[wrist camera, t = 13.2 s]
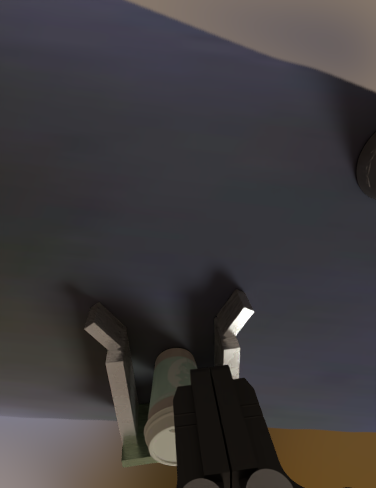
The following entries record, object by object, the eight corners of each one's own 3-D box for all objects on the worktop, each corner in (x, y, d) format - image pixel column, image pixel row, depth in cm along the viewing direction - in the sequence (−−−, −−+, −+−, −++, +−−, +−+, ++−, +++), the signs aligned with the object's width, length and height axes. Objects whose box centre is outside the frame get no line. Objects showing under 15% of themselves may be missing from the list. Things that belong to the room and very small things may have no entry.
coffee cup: (214, 365, 45) (233, 447, 35) (167, 391, 47) (171, 478, 36) (183, 330, 42) (194, 409, 31) (133, 359, 43) (127, 444, 32)
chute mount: (245, 287, 40) (265, 328, 33) (239, 397, 49) (254, 448, 42) (89, 302, 38) (74, 349, 31) (113, 414, 47) (106, 469, 40)
